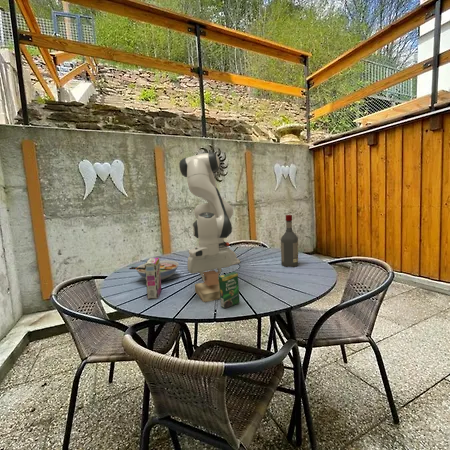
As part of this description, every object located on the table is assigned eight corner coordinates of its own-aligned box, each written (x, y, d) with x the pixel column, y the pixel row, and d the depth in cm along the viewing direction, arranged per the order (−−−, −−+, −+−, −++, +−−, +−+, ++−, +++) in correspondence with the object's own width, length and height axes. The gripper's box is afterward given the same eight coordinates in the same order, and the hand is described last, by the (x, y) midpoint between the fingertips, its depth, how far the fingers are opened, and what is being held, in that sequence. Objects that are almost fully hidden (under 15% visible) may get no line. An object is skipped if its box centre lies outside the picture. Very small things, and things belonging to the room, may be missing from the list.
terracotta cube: (214, 280, 123) (213, 270, 123) (218, 283, 119) (217, 272, 118) (204, 282, 121) (203, 272, 121) (208, 285, 117) (207, 275, 116)
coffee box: (223, 309, 105) (222, 277, 103) (219, 306, 107) (218, 275, 105) (240, 303, 109) (238, 273, 107) (236, 301, 111) (234, 271, 110)
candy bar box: (158, 298, 119) (155, 263, 116) (147, 299, 118) (143, 264, 116) (162, 289, 130) (159, 257, 128) (152, 290, 129) (148, 257, 127)
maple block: (218, 287, 129) (218, 279, 129) (229, 297, 117) (229, 289, 116) (195, 292, 125) (194, 284, 125) (203, 303, 112) (203, 294, 112)
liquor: (280, 266, 156) (279, 216, 152) (283, 262, 165) (282, 214, 161) (296, 267, 153) (295, 216, 149) (298, 263, 161) (297, 214, 157)
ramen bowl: (188, 273, 154) (187, 259, 153) (169, 287, 132) (168, 271, 131) (150, 271, 161) (149, 258, 160) (126, 285, 139) (125, 270, 138)
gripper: (227, 244, 125) (228, 273, 127) (185, 251, 117) (187, 281, 119) (233, 247, 119) (234, 276, 121) (189, 254, 111) (191, 285, 113)
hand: (210, 279), depth 120 cm, fingers closed on terracotta cube, 5 cm apart
